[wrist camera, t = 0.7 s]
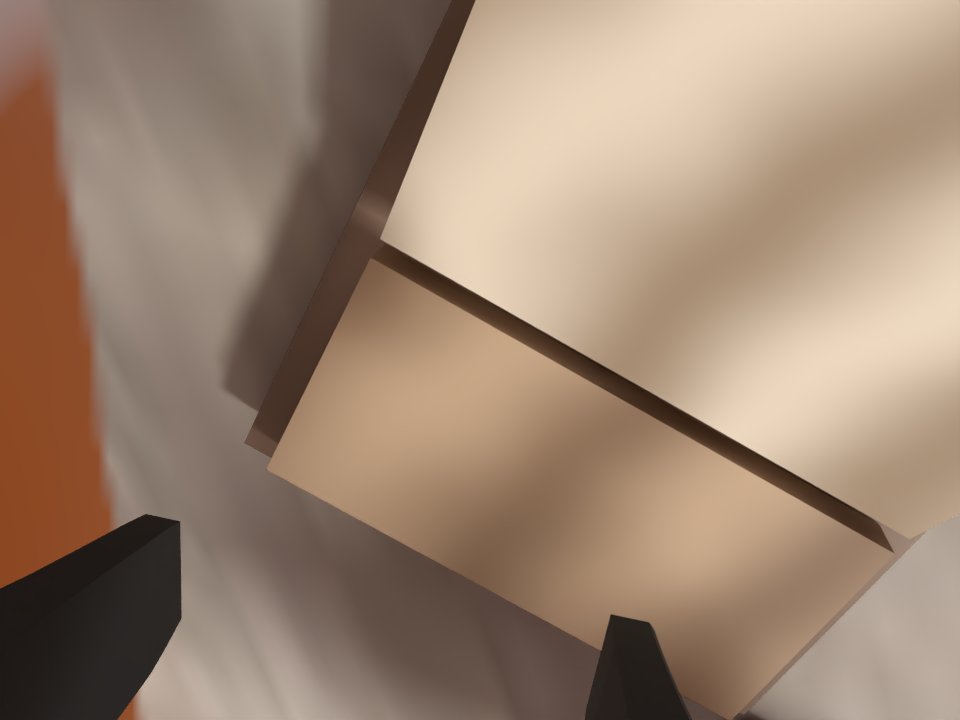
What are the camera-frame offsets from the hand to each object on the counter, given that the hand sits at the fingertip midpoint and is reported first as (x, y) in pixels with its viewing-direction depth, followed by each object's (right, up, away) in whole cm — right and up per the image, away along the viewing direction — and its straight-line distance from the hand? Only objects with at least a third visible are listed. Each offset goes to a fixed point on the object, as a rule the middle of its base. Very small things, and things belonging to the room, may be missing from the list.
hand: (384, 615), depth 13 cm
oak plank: (+8, +7, +2) cm, 11 cm away
